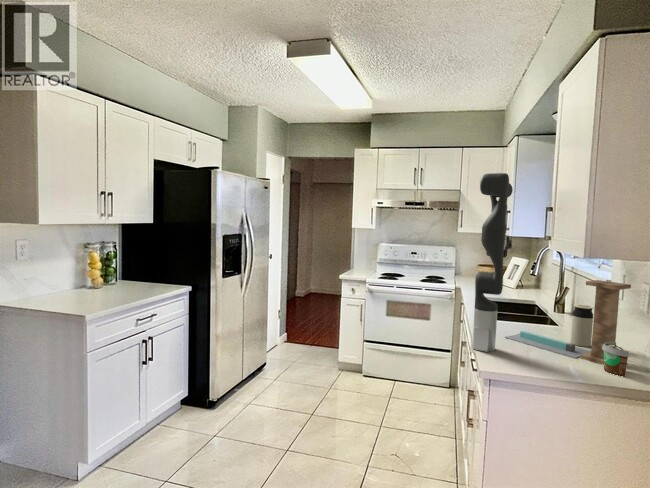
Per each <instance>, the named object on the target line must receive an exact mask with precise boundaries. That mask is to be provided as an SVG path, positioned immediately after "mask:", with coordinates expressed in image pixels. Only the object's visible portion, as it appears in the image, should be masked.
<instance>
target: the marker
mask: <svg viewBox="0 0 650 488" xmlns="http://www.w3.org/2000/svg"><path fill="white" fill-rule="evenodd" d="M519 334H520V337H521V338H525V339H528V340H532V341H535V342H538V343H542V344H545V345H549V346H552V347H555V348H559V349H562V350H565V351H569V352H574V351H575V347H576V345H574V344H572V343H571V342H570V343H569V342H566V341H563V340H559V339H555V338H551V337H548V336H544V335H541V334H537V333H534V332H530V331H526V330H520V332H519Z"/></svg>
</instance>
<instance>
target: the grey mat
mask: <svg viewBox="0 0 650 488" xmlns="http://www.w3.org/2000/svg"><path fill="white" fill-rule="evenodd" d="M504 338H505V339H507V340H511V341H514V342H518V343H522V344H526V345H528V346H532V347H535V348H539V349H540V350H541V349H542V350H546V351H548V352H550V353H551V352H552V353H554V354H558V355H562V356H565V357H568V358H572V359H579V358H581V355H582V354H586V353H589V352H591V350H590V349H589V350H588V349H585V348H582V347H579V346H575V351H574V352H569V351H565V350H562V349H559V348H555V347H552V346H549V345H545V344H542V343H538V342H535V341H532V340H528V339H525V338H521V337H520V333H517V334H513V335H509V336H504Z"/></svg>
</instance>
